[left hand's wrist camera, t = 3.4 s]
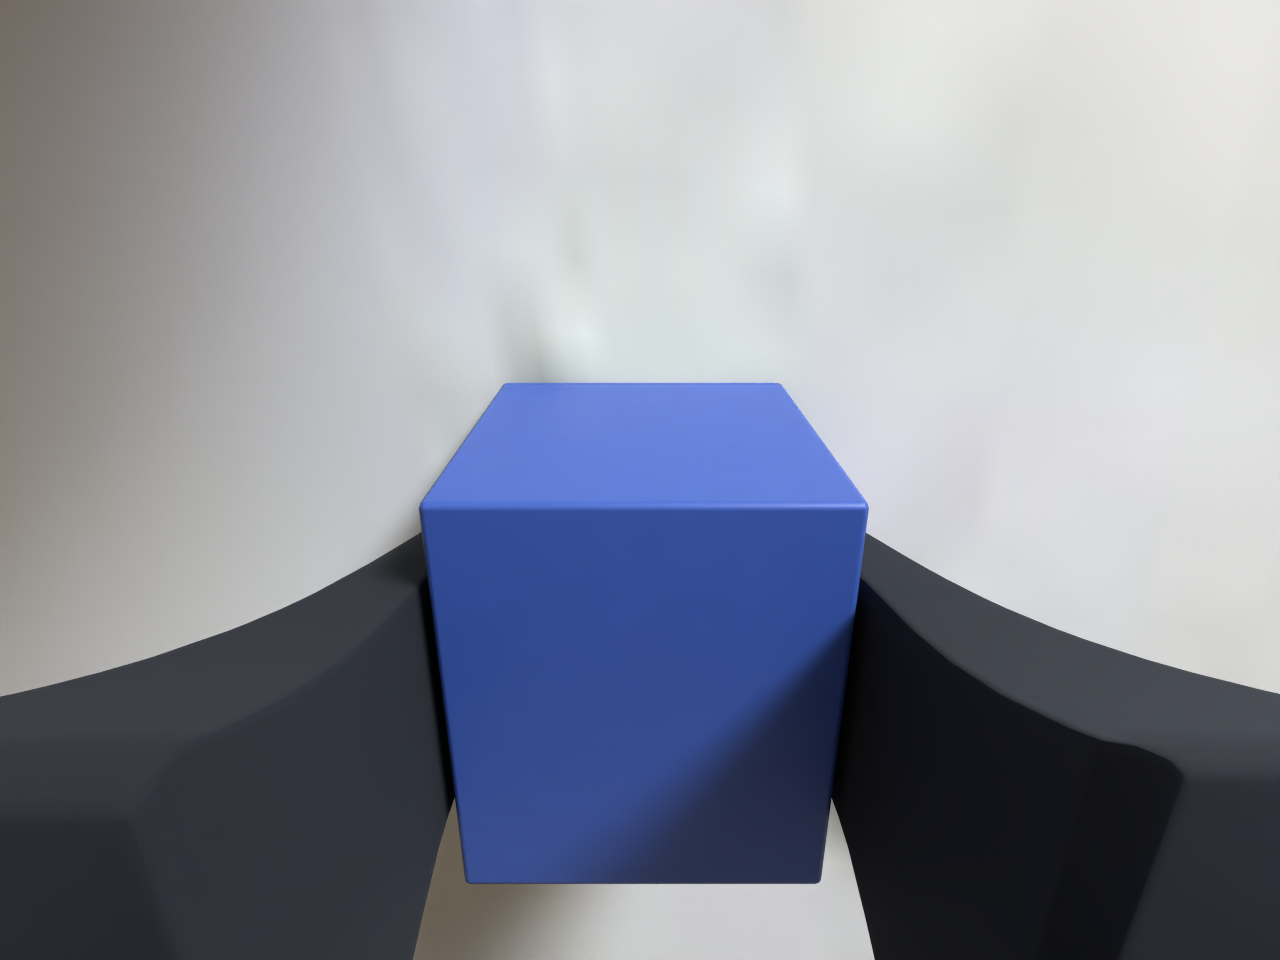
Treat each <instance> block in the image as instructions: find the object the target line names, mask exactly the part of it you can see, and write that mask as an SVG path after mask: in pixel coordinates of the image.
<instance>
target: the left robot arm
mask: <svg viewBox="0 0 1280 960" xmlns="http://www.w3.org/2000/svg"><path fill="white" fill-rule="evenodd" d="M454 798H455V793H454V785H453V777H452V769H451V761H450V753H449V745H448V737H447V729H446V721H445V713H444V705H443V697H442V689H441V681H440V673H439V665H438V657H437V649H436V641H435V633H434V625H433V617H432V609H431V601H430V593H429V585H428V577H427V569H426V561H425V553H424V545H423V537H422V532H421V533H419V534H418V535H416V536H414V537H413V538H411V539H410V540H408V541H406V542H405V543H403V544H401V545H400V546H398V547H396V548H395V549H393V550H391V551H390V552H388V553H386V554H385V555H383V556H381V557H380V558H378V559H376V560H375V561H373V562H371V563H369V564H368V565H366V566H364V567H362V568H360V569H358V570H357V571H355V572H353V573H351V574H349V575H347V576H346V577H344V578H342V579H340V580H338V581H336V582H334V583H333V584H331V585H329V586H327V587H325V588H323V589H322V590H320V591H318V592H316V593H314V594H312V595H310V596H308V597H306V598H304V599H302V600H300V601H297V602H295V603H293V604H291V605H289V606H287V607H285V608H282V609H280V610H278V611H275V612H273V613H271V614H268V615H266V616H264V617H261V618H259V619H257V620H254V621H252V622H250V623H247V624H245V625H242V626H240V627H237V628H235V629H232V630H229V631H227V632H224V633H221V634H218V635H215V636H212V637H209V638H206V639H204V640H201V641H198V642H195V643H192V644H189V645H186V646H183V647H180V648H178V649H175V650H172V651H169V652H166V653H163V654H160V655H157V656H154V657H151V658H148V659H145V660H141V661H138V662H135V663H131V664H128V665H124V666H121V667H117V668H114V669H110V670H107V671H103V672H100V673H96V674H92V675H88V676H84V677H81V678H77V679H73V680H69V681H65V682H61V683H57V684H53V685H50V686H45V687H41V688H37V689H33V690H28V691H24V692H20V693H16V694H11V695H6V696H1V697H0V960H413V956H414V951H415V947H416V942H417V937H418V933H419V928H420V924H421V919H422V915H423V911H424V907H425V902H426V898H427V894H428V890H429V886H430V881H431V877H432V873H433V869H434V864H435V860H436V856H437V852H438V848H439V844H440V841H441V838H442V834H443V831H444V828H445V825H446V821H447V818H448V815H449V812H450V809H451V806H452V803H453V801H454ZM832 800H833V802H834V805H835V808H836V811H837V814H838V816H839V820H840V823H841V826H842V829H843V832H844V836H845V839H846V842H847V845H848V849H849V853H850V857H851V861H852V865H853V869H854V873H855V877H856V881H857V885H858V889H859V894H860V898H861V902H862V906H863V910H864V914H865V918H866V922H867V927H868V931H869V935H870V940H871V944H872V949H873V953H874V958H875V960H1280V694H1277V693H1273V692H1268V691H1264V690H1259V689H1255V688H1251V687H1247V686H1244V685H1240V684H1236V683H1232V682H1228V681H1224V680H1220V679H1216V678H1212V677H1208V676H1204V675H1200V674H1196V673H1192V672H1188V671H1185V670H1181V669H1178V668H1174V667H1171V666H1167V665H1163V664H1160V663H1156V662H1153V661H1149V660H1146V659H1143V658H1140V657H1137V656H1134V655H1130V654H1127V653H1124V652H1121V651H1118V650H1115V649H1112V648H1109V647H1106V646H1103V645H1100V644H1097V643H1094V642H1091V641H1088V640H1085V639H1082V638H1079V637H1077V636H1074V635H1071V634H1068V633H1066V632H1063V631H1060V630H1057V629H1055V628H1052V627H1050V626H1047V625H1045V624H1043V623H1040V622H1038V621H1035V620H1033V619H1031V618H1028V617H1026V616H1023V615H1021V614H1018V613H1016V612H1014V611H1011V610H1009V609H1006V608H1004V607H1002V606H1000V605H998V604H995V603H993V602H991V601H989V600H987V599H985V598H983V597H981V596H979V595H977V594H975V593H973V592H971V591H969V590H967V589H965V588H963V587H961V586H959V585H957V584H955V583H953V582H951V581H949V580H947V579H945V578H943V577H941V576H940V575H938V574H936V573H934V572H932V571H930V570H929V569H927V568H925V567H923V566H922V565H920V564H918V563H916V562H914V561H913V560H911V559H909V558H908V557H906V556H904V555H902V554H901V553H899V552H897V551H896V550H894V549H892V548H891V547H889V546H887V545H886V544H884V543H882V542H881V541H879V540H877V539H876V538H874V537H872V536H870V535H869V534H867V533H866V534H865V541H864V549H863V557H862V565H861V572H860V580H859V588H858V595H857V603H856V611H855V619H854V626H853V634H852V642H851V650H850V657H849V665H848V673H847V681H846V688H845V696H844V704H843V712H842V719H841V727H840V735H839V743H838V750H837V758H836V766H835V774H834V781H833V789H832Z"/></svg>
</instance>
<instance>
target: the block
mask: <svg viewBox="0 0 1280 960" xmlns="http://www.w3.org/2000/svg"><path fill="white" fill-rule="evenodd" d="M868 510H869V507H868V504H867V502H866V501H865V499H864V498H863V497H862V495H861V494H860V492H859V491H858V490H857V488H856V487H855V486H854V484H853V483H852V481H851V480H850V479H849V477H848V476H847V475H846V473H845V472H844V470H843V469H842V468H841V466H840V465H839V464H838V462H837V461H836V459H835V458H834V457H833V455H832V454H831V453H830V451H829V450H828V448H827V447H826V446H825V444H824V443H823V442H822V440H821V439H820V437H819V436H818V435H817V433H816V432H815V431H814V429H813V428H812V426H811V425H810V424H809V422H808V421H807V419H806V418H805V417H804V415H803V414H802V413H801V411H800V410H799V408H798V407H797V406H796V404H795V403H794V402H793V400H792V399H791V397H790V396H789V395H788V393H787V392H786V391H785V389H784V388H783V386H782V385H781V384H779V383H506V384H504V385H503V386H502V388H501V389H500V391H499V392H498V393H497V395H496V396H495V398H494V399H493V401H492V402H491V403H490V405H489V406H488V408H487V409H486V410H485V412H484V413H483V415H482V416H481V418H480V419H479V420H478V422H477V423H476V425H475V426H474V428H473V429H472V430H471V432H470V433H469V435H468V436H467V438H466V439H465V440H464V442H463V443H462V445H461V446H460V448H459V449H458V450H457V452H456V453H455V455H454V456H453V458H452V459H451V460H450V462H449V463H448V465H447V466H446V467H445V469H444V470H443V472H442V473H441V475H440V476H439V477H438V479H437V480H436V482H435V483H434V485H433V486H432V487H431V489H430V490H429V492H428V493H427V495H426V496H425V497H424V499H423V500H422V502H421V503H420V506H419V513H420V521H421V529H422V537H423V545H424V553H425V561H426V569H427V577H428V585H429V593H430V601H431V609H432V617H433V625H434V633H435V641H436V649H437V657H438V665H439V673H440V681H441V689H442V697H443V705H444V713H445V721H446V729H447V737H448V745H449V753H450V761H451V769H452V777H453V785H454V793H455V801H456V809H457V817H458V825H459V833H460V841H461V849H462V857H463V865H464V873H465V879H466V882H467V883H470V884H816V883H819V882H820V880H821V874H822V867H823V859H824V851H825V843H826V836H827V828H828V820H829V812H830V805H831V797H832V789H833V781H834V774H835V766H836V758H837V750H838V743H839V735H840V727H841V719H842V712H843V704H844V696H845V688H846V681H847V673H848V665H849V657H850V650H851V642H852V634H853V626H854V619H855V611H856V603H857V595H858V588H859V580H860V572H861V565H862V557H863V549H864V541H865V534H866V526H867V518H868Z"/></svg>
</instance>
